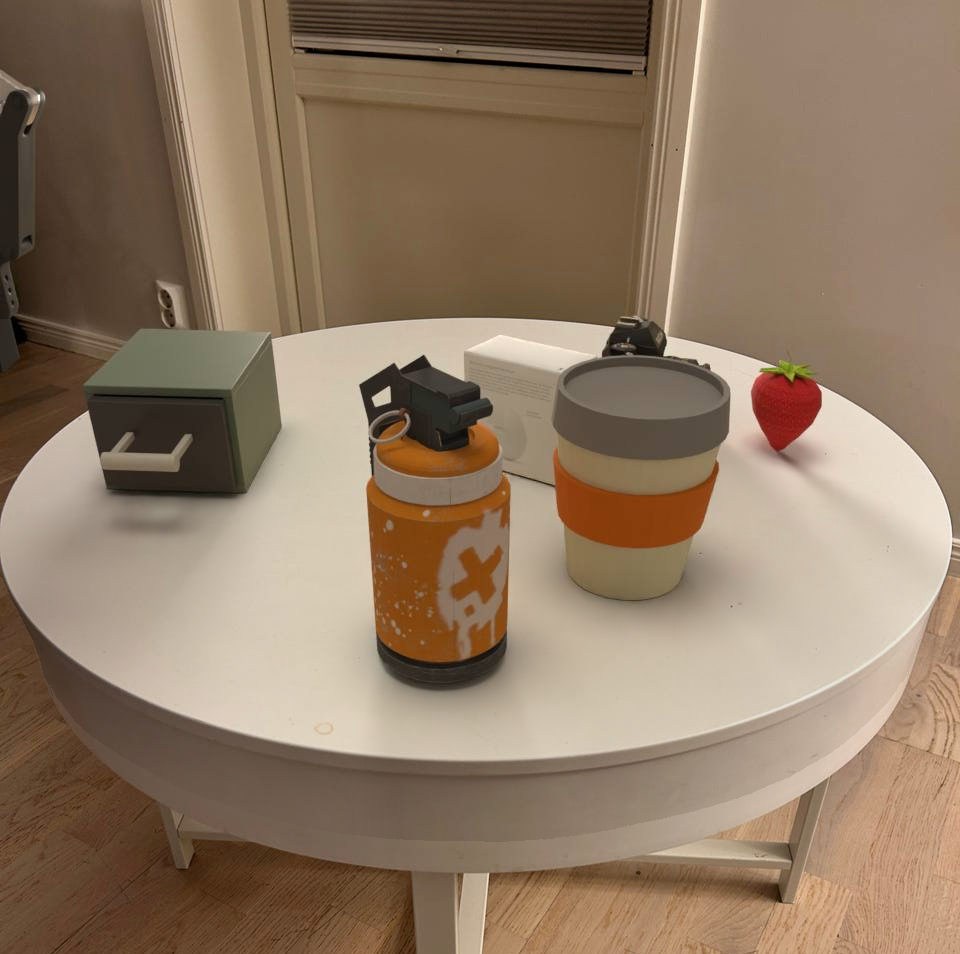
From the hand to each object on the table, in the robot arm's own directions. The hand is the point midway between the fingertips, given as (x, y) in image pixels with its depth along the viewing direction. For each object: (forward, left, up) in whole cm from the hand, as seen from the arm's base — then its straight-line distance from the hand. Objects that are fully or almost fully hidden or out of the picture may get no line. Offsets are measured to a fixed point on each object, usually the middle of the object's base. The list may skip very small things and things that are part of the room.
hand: (0, 364), depth 67 cm
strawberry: (+60, +27, -17) cm, 67 cm away
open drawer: (+5, +17, -16) cm, 24 cm away
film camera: (+48, +33, -17) cm, 60 cm away
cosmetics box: (+36, +23, -17) cm, 46 cm away
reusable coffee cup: (+44, +4, -17) cm, 47 cm away
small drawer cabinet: (+5, +22, -17) cm, 28 cm away
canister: (+30, -7, -17) cm, 35 cm away
